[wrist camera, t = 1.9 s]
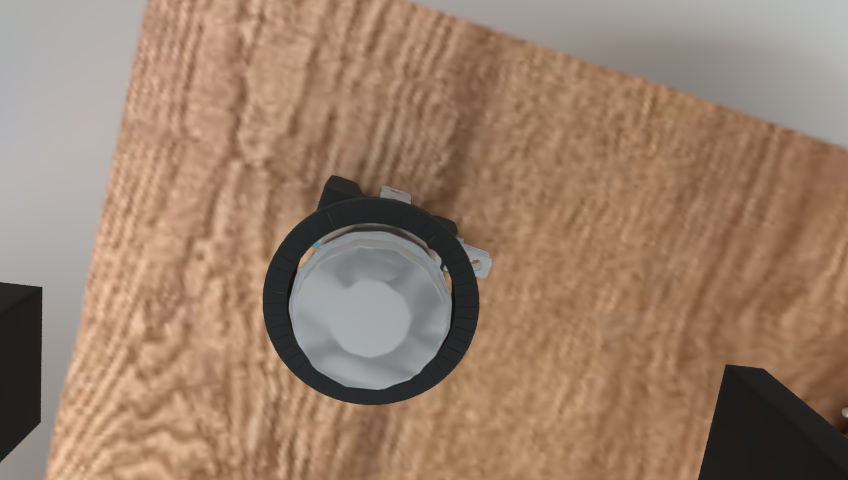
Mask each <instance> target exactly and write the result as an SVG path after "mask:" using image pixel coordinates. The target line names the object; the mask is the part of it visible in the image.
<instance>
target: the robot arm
mask: <svg viewBox="0 0 848 480" xmlns="http://www.w3.org/2000/svg"><path fill="white" fill-rule="evenodd" d="M41 351H42V287H37V286H28V285H19V284H10V283H2V282H0V462H1V461H2V460H3V459H4V458H5V457H6V456H7V455H8V454H9V453H10V452H11V451H12V450H13V449H14V448H15V447H16V446H17V445H18V444H19V443H20V442H21V441H22V440H23V439H24V438H25V437H26V436H27V435H28V434H29V433H30V432H31V431H32V430H33V429H34V428H35V427H36V426H37V425H38V424H39V423H40V422H41V419H40V418H41ZM698 480H848V438H847V437H846V436H844V435H843V434H842V433H841V432H840V431H838V430H837V429H836V428H835V427H833V426H832V425H831V424H830V423H829V422H827V421H826V420H825V419H824V418H823V417H821V416H820V415H819V414H818V413H817V412H815V411H814V410H813V409H812V408H810V407H809V406H808V405H807V404H806V403H804V402H803V401H802V400H801V399H800V398H798V397H797V396H796V395H795V394H794V393H792V392H791V391H790V390H789V389H788V388H786V387H785V386H784V385H783V384H781V383H780V382H779V381H778V380H777V379H775V378H774V377H773V376H772V375H771V374H769V373H768V372H767V371H766V370H765V369H763V368H754V367H745V366H736V365H727V364H726V366H725V370H724V375H723V379H722V383H721V387H720V391H719V395H718V399H717V403H716V408H715V412H714V416H713V420H712V424H711V428H710V432H709V436H708V441H707V445H706V449H705V453H704V457H703V461H702V465H701V469H700V474H699V478H698Z"/></svg>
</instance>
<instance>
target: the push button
mask: <svg viewBox="0 0 848 480" xmlns="http://www.w3.org/2000/svg"><path fill="white" fill-rule="evenodd" d="M395 192H396V193H395ZM457 232H458V230H457V227H456V224H455V223H454V222H453V221H451V220H448V219H445V218H443V217H440V216H435V215H431V214H429V213H428V212H426V211H424V210H422V209H420V208H418V207H416V206H414V205H411V195H410V194H408V193H406V192H403V191H400V190H398V189H395V188H392V187H389V186H385V185H382V188H381V193H380V196H379V197H366V196H364V195H363V194H362V192H361V190H360V188H359V186H358V184H357V183H355V182H353V181H350V180H347V179H344V178H342V177H338V176H334V175H332V176H331V177H330V178H329V180H328V181H327V183H326V184H325V186H324V189H323V192H322V195H321V198H320V201H319V204H318V207H317V211H316V212H314V213H312V214H311V215H309V216H308V217H306V218H305V219H304V220H303V221H301V222H300V223H299V224H298V225H297V226H296V227H295V228H294V229H293V230H292V231H291V232H290V233H289V234H288V235H287V237H286V238H285V239H284V241H283V242H282V243H281V245H280V246H279V248H278V250H277V251H276V253H275V255H274V256H273V259H272V261H271V263H270V265H269V268H268V271H267V274H266V278H265V283H264V288H263V313H264V320H265V324H266V328H267V332H268V334H269V337H270V340H271V342H272V344H273V346H274V348H275V350H276V352H277V353H278V355H279V356H280V358H281V359H282V361H283V362H284V363H285V364H286V366H287V367H288V368H289V369H290V370H291V371H292V372H293V373H294V374H295V375H296V376H297V377H298V378H299V379H300V380H302V381H303V382H304V383H305V384H307V385H308V386H310V387H312V388H313V389H315V390H317V391H318V392H320V393H322V394H324V395H327V396H329V397H332V398H334V399H337V400H341V401H344V402H349V403H354V404H363V405H381V404H390V403H395V402H400V401H403V400H406V399H409V398H412V397H415V396H417V395H419V394H421V393H423V392H425V391H427V390H429V389H431V388H432V387H433V386H435V385H436V384H438V383H439V382H441V381H442V380H443V379H444V378H445V377H446V376H447V375H449V374H450V372H451V371H452V370H453V369H454V368H455V367H456V366H457V365H458V363H459V362H460V361H461V359H462V358H463V356H464V355H465V353H466V351H467V350H468V348H469V345H470V343H471V341H472V339H473V336H474V333H475V330H476V326H477V321H478V314H479V292H478V285H477V280H476V277H479V278H482V279H485V278H487V275H488V273H489V270H490V267H491V265H492V262H493V261H492V259H491V258H489V256H490V254H489V252H487V251H485V250H482V249H479V248H476V247H473V246H470V245H467V244H464V243H463V241H464V239H462V238H459V237H456V234H457ZM311 246H313V247H315V248H318V249H317V250H316V251H315V252H314V253H313V254H312V255H311V257H310V258H309V259H308V260H307V261H306V262H305V264H304V265H303V266H302V267H301V268H300V270H299V272H298V273H297V268H298V265H299V262H300V259H301V257H302V256H303V255H304V254H305V253H306V251H307V250H308V249H309V248H310V247H311ZM473 260H479V261H478V262H477V263H471V262H472V261H473ZM473 269H474V270H473ZM443 270H445V271H448V272H449V274H450V277H451V279H452V293H451V294H450V291H449V289H448V286H447V283H446V281H445V278H444V275H443V272H442V271H443ZM296 274H297V275H296Z"/></svg>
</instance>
